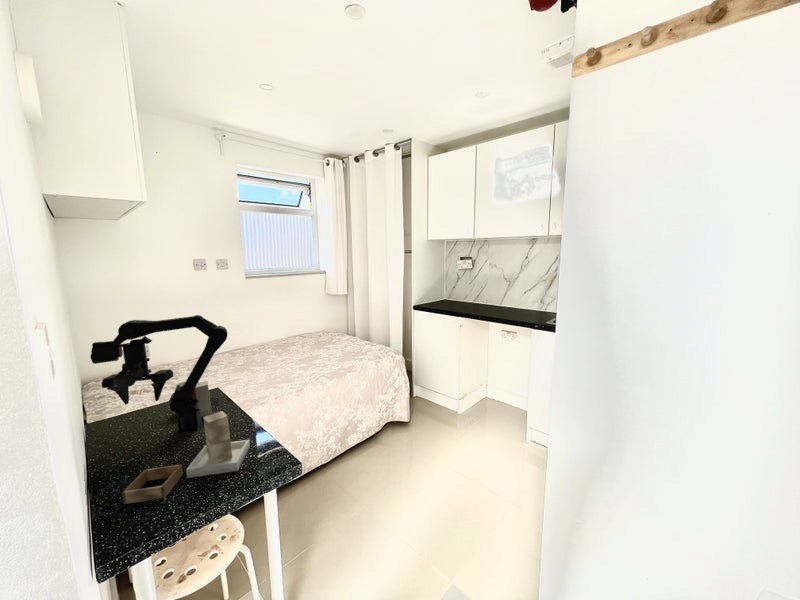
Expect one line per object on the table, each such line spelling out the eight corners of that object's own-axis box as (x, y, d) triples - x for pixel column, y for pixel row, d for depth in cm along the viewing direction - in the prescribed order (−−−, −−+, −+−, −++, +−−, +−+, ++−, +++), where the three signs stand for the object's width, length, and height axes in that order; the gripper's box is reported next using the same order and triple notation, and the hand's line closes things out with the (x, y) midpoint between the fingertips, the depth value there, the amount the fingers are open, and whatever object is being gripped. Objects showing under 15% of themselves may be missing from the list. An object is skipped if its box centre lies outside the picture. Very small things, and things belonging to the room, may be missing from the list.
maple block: (226, 451, 97) (222, 411, 95) (232, 457, 93) (227, 415, 92) (208, 458, 93) (203, 417, 92) (213, 465, 90) (208, 422, 88)
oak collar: (183, 474, 88) (181, 464, 88) (164, 497, 79) (163, 486, 79) (146, 479, 87) (144, 469, 86) (123, 504, 78) (121, 493, 77)
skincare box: (212, 414, 125) (208, 384, 124) (198, 417, 123) (195, 387, 121) (211, 408, 130) (207, 380, 129) (198, 411, 128) (194, 383, 127)
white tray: (250, 446, 101) (249, 439, 100) (237, 470, 89) (236, 462, 89) (205, 452, 98) (204, 445, 98) (187, 478, 87) (186, 469, 86)
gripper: (84, 368, 96) (92, 417, 98) (152, 362, 99) (159, 409, 101) (110, 358, 107) (117, 402, 109) (171, 352, 110) (177, 395, 112)
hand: (142, 402), depth 107 cm, fingers open, 9 cm apart
